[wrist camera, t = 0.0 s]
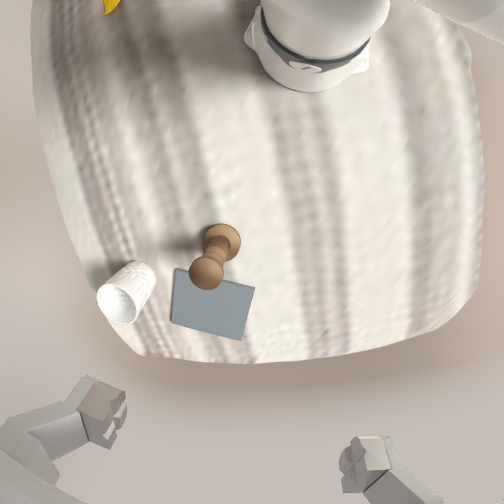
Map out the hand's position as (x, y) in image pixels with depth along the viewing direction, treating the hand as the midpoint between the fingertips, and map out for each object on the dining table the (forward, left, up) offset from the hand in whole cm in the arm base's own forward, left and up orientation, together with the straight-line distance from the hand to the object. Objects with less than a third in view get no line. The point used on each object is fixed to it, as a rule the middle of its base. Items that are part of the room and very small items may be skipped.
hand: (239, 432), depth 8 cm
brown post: (+10, -6, -39) cm, 40 cm away
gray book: (+23, -6, -39) cm, 45 cm away
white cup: (+21, -20, -39) cm, 49 cm away
